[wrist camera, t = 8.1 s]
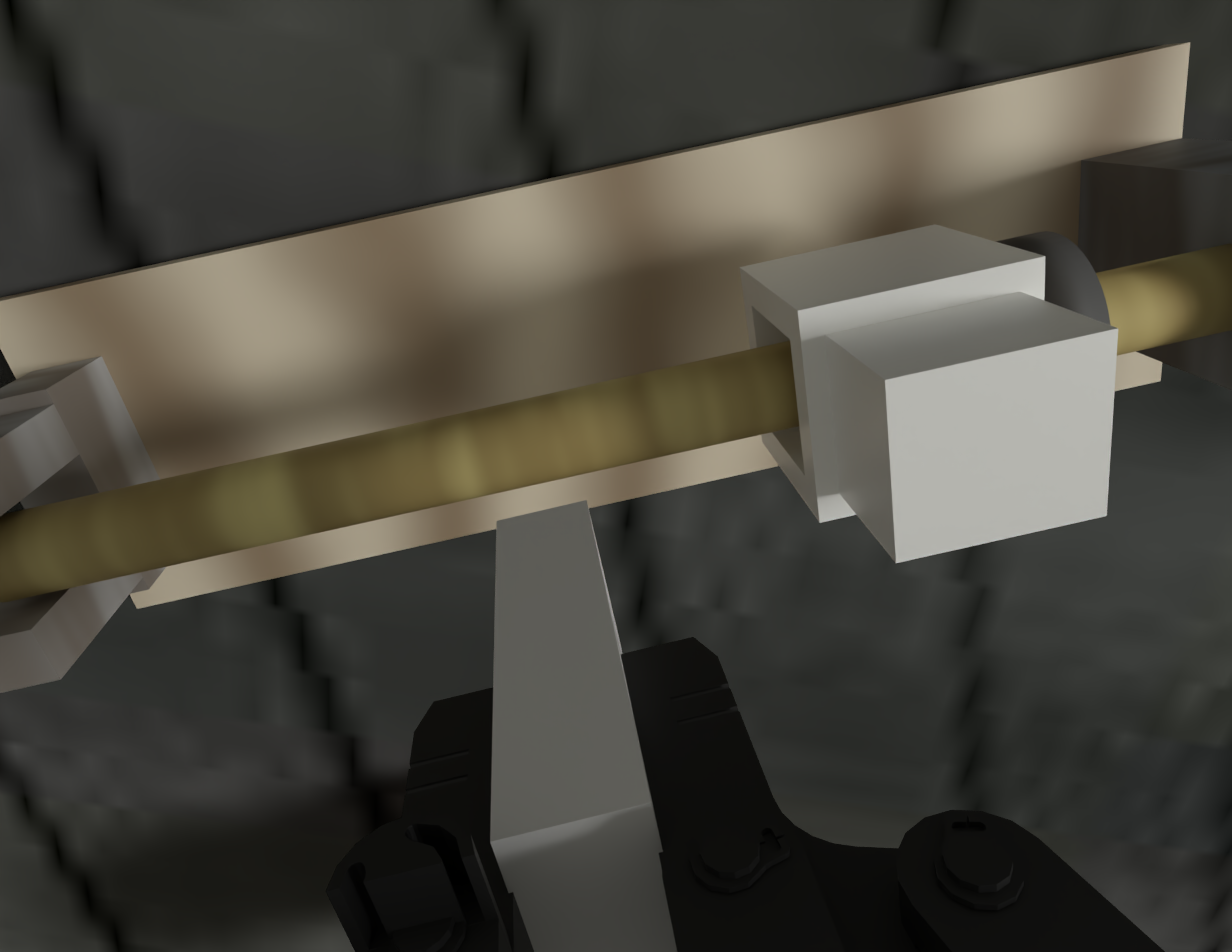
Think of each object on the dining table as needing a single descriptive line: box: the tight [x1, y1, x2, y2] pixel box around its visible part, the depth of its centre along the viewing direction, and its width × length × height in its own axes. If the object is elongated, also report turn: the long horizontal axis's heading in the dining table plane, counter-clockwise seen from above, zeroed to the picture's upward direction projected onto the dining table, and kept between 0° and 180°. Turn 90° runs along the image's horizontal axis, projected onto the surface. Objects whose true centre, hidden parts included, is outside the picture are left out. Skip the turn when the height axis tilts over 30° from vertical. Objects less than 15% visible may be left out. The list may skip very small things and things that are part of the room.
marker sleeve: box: [740, 224, 1118, 563], centre depth 18 cm, size 5×5×8 cm
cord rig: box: [0, 43, 1232, 693], centre depth 21 cm, size 34×10×10 cm, turn 101°
